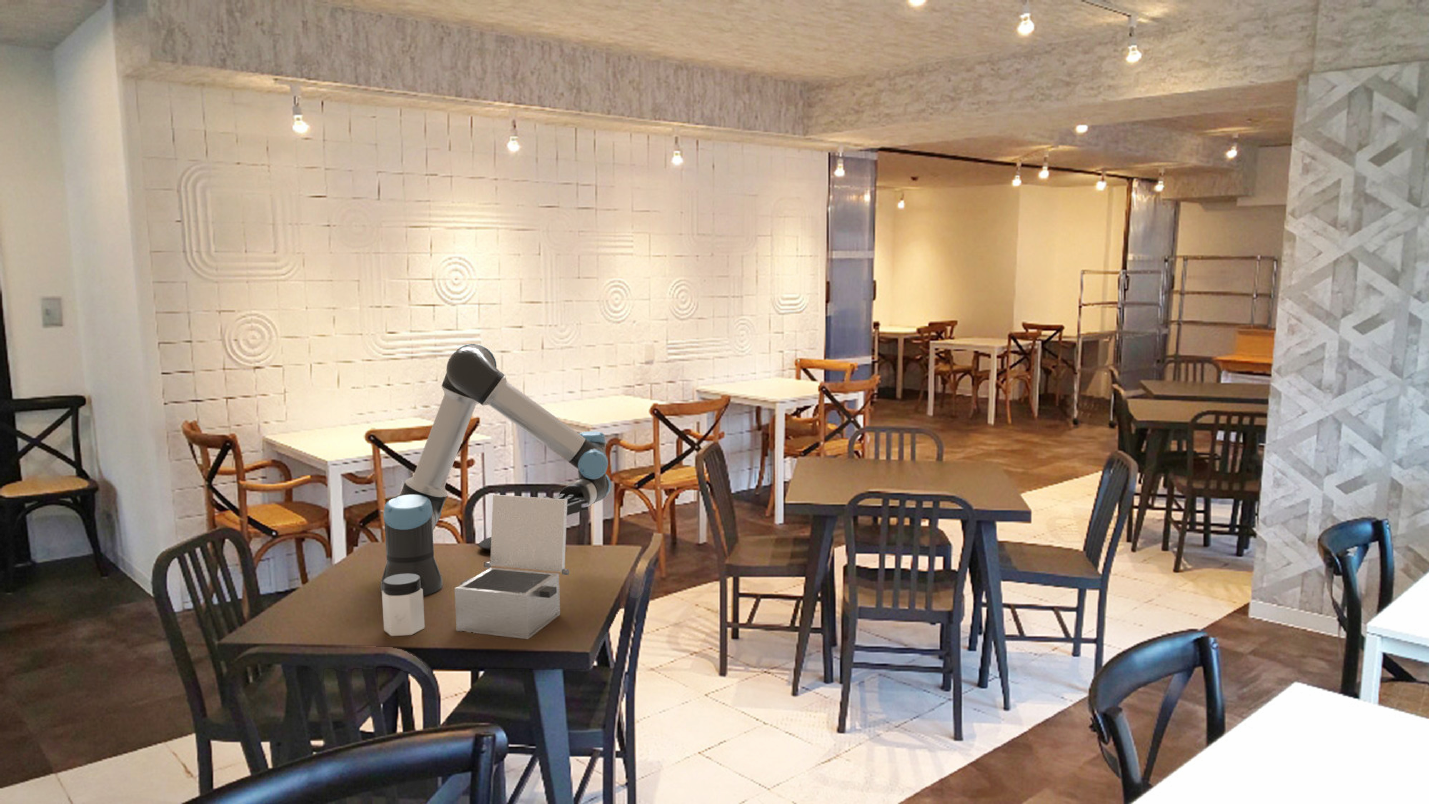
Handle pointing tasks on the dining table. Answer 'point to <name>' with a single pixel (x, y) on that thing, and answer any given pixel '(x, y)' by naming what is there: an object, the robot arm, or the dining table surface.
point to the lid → (528, 532)
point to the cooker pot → (507, 602)
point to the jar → (403, 604)
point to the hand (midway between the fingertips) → (536, 518)
